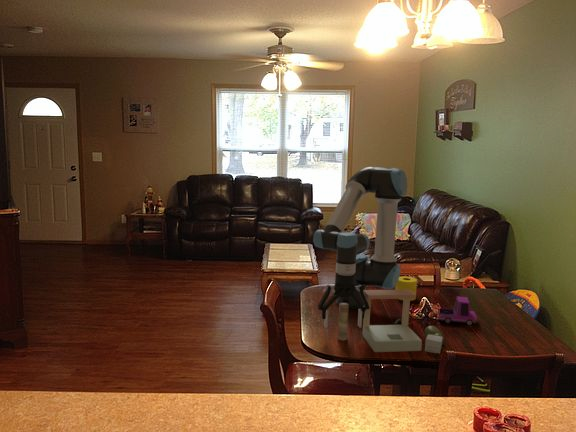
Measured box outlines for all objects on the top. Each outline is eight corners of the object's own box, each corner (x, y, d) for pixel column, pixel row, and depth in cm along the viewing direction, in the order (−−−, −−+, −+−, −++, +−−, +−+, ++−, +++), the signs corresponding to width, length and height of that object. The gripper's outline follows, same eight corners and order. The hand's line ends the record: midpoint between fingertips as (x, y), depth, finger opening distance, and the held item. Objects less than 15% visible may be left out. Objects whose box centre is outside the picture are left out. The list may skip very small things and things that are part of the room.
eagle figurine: (416, 329, 212) (412, 318, 220) (408, 316, 210) (405, 305, 218) (399, 337, 214) (396, 325, 222) (391, 324, 212) (388, 313, 220)
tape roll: (417, 301, 251) (419, 282, 250) (397, 300, 251) (398, 281, 250) (413, 294, 261) (414, 276, 260) (393, 294, 261) (394, 275, 260)
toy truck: (476, 327, 220) (478, 304, 218) (438, 323, 223) (440, 301, 221) (472, 318, 230) (474, 296, 229) (436, 315, 233) (438, 293, 232)
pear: (435, 322, 208) (449, 336, 199) (433, 334, 210) (446, 348, 201) (423, 323, 206) (436, 337, 197) (420, 335, 208) (434, 349, 199)
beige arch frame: (361, 325, 207) (363, 290, 205) (406, 324, 210) (409, 289, 207) (366, 331, 201) (368, 295, 198) (413, 330, 203) (415, 294, 201)
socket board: (362, 335, 207) (362, 325, 207) (405, 333, 210) (406, 324, 209) (374, 352, 192) (375, 341, 191) (421, 350, 194) (421, 340, 194)
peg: (336, 337, 204) (338, 303, 202) (345, 336, 205) (347, 302, 203) (338, 340, 201) (340, 306, 199) (347, 340, 201) (349, 306, 199)
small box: (440, 354, 192) (441, 341, 191) (424, 351, 194) (425, 339, 193) (441, 348, 197) (442, 336, 196) (426, 345, 199) (427, 333, 198)
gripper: (315, 275, 193) (312, 330, 196) (379, 275, 197) (376, 329, 200) (311, 270, 200) (309, 323, 203) (373, 270, 204) (370, 322, 207)
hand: (342, 326), depth 202 cm, fingers open, 13 cm apart
